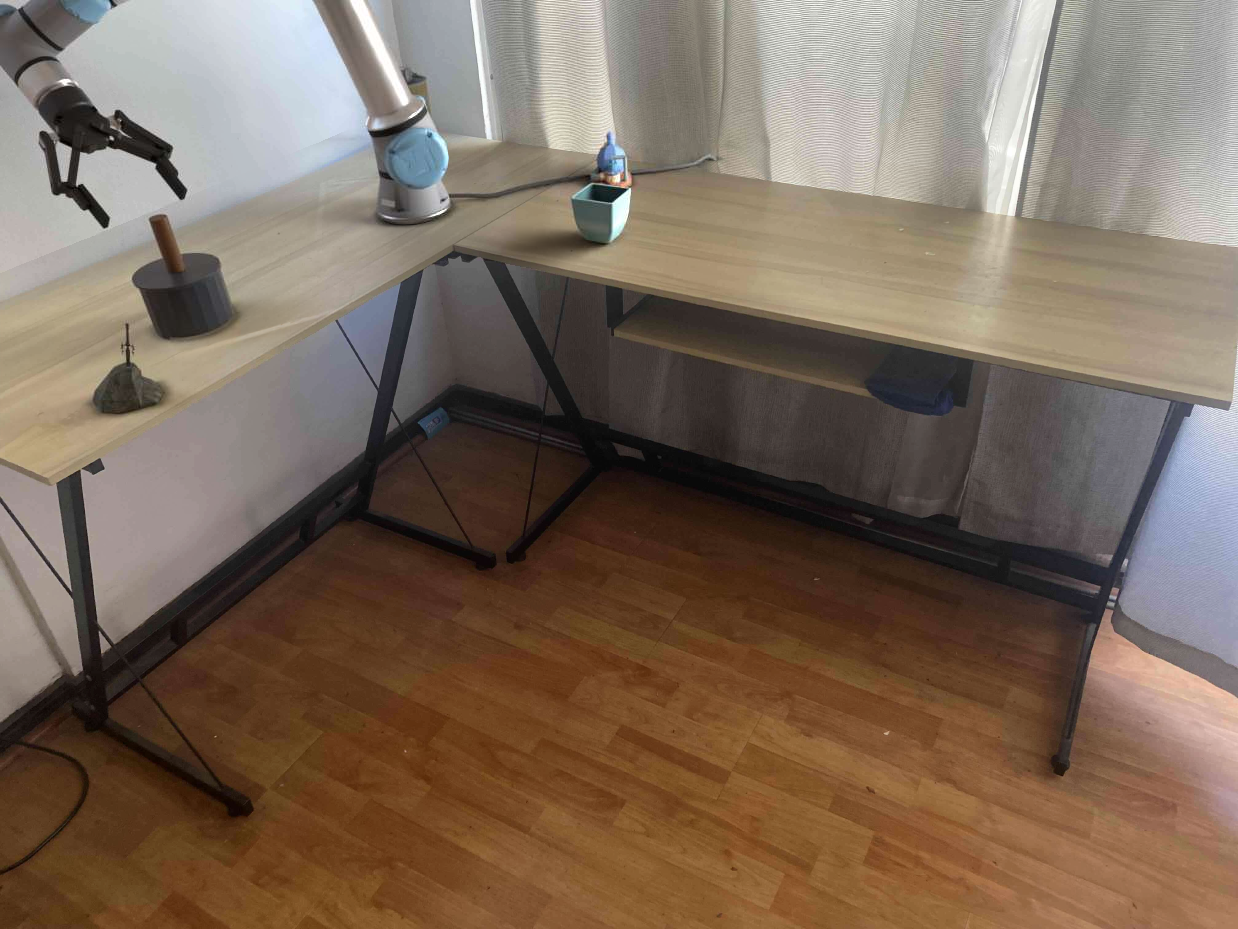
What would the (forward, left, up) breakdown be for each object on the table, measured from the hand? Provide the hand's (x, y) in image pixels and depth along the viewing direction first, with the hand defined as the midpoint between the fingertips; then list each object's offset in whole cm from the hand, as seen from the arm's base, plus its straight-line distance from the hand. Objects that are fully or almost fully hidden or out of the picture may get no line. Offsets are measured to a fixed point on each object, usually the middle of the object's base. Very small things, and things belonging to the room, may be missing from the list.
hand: (146, 209), depth 147 cm
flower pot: (-75, +16, -20) cm, 79 cm away
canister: (-66, -56, -20) cm, 89 cm away
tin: (-1, +3, -19) cm, 20 cm away
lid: (-1, +3, -10) cm, 11 cm away
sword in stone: (+13, +23, -20) cm, 33 cm away
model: (-93, -10, -20) cm, 96 cm away
